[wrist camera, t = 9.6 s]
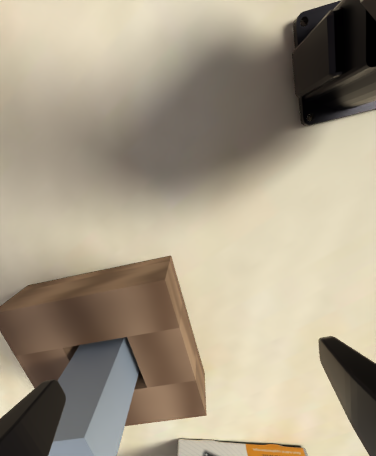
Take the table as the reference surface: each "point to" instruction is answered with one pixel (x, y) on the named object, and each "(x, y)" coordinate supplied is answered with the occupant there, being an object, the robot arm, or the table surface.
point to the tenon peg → (96, 399)
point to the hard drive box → (234, 449)
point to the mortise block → (113, 333)
